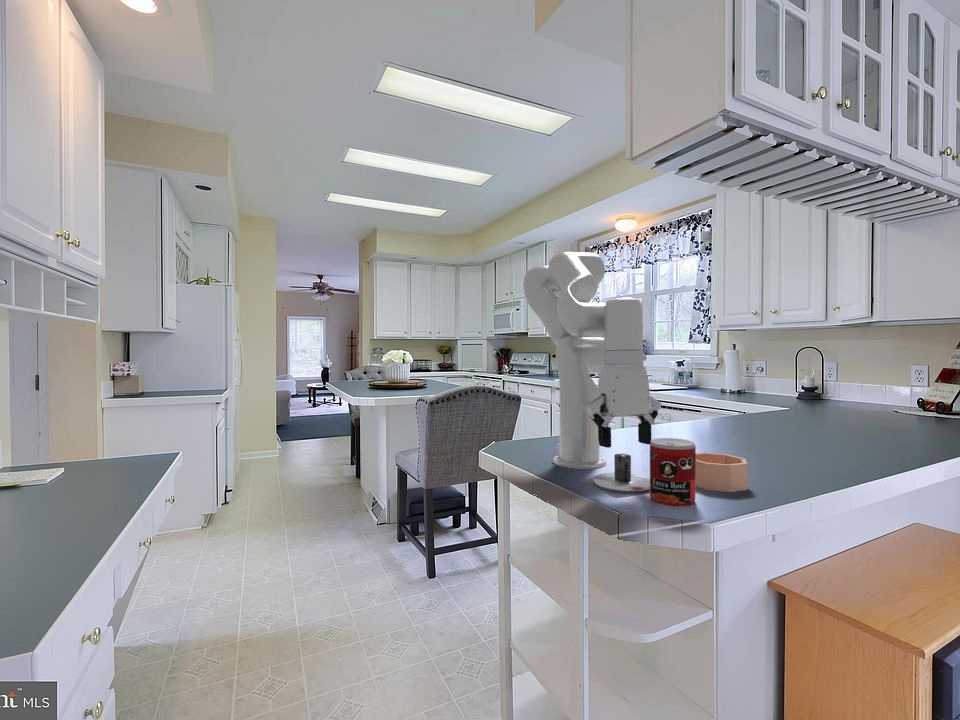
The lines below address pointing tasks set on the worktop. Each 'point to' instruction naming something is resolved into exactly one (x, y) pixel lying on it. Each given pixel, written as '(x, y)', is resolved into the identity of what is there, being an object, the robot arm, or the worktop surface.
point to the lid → (622, 478)
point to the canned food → (672, 471)
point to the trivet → (614, 494)
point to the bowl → (721, 472)
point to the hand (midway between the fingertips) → (625, 444)
